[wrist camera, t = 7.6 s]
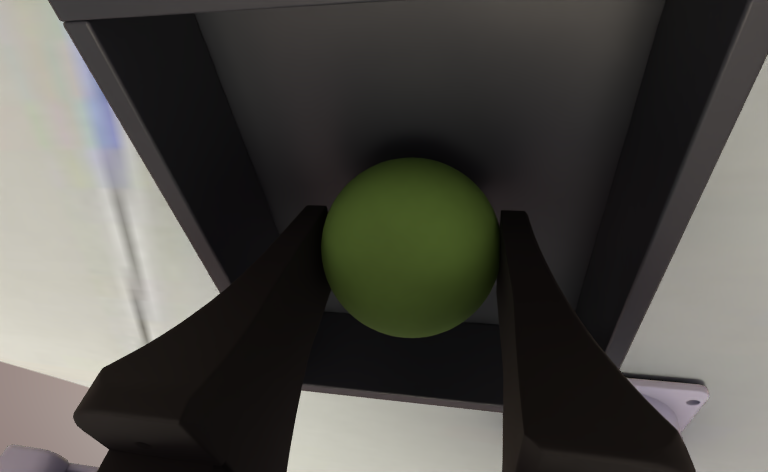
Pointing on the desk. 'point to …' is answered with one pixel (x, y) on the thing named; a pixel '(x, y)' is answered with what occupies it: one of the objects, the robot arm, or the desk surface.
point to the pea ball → (411, 247)
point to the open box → (433, 140)
